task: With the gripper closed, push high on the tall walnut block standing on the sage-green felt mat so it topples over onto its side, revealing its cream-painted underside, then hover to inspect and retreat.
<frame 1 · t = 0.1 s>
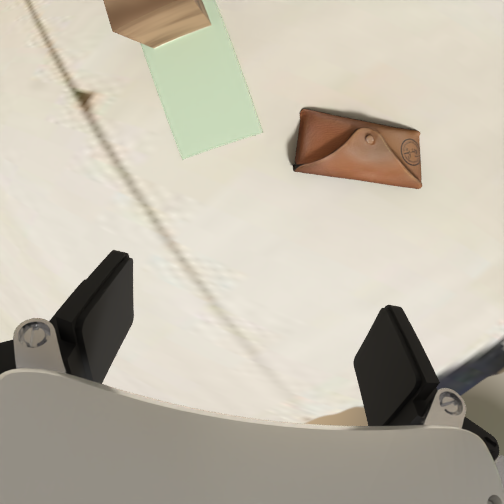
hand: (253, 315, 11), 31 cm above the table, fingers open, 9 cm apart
sunglasses case: (360, 147, 38), on the table
felt mat: (194, 69, 33), on the table
walnut block: (176, 21, 30), resting on felt mat
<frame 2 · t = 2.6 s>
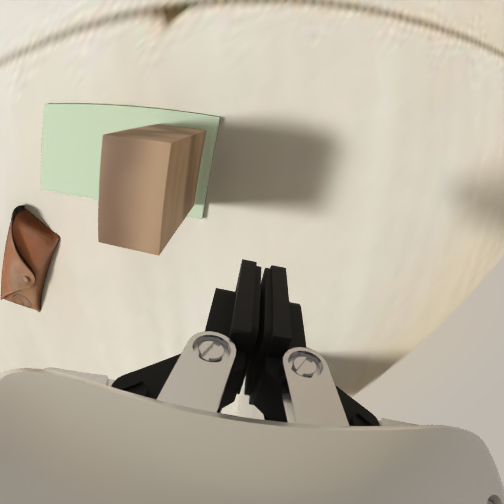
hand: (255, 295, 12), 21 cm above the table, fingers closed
sunglasses case: (31, 262, 38), on the table
felt mat: (115, 154, 30), on the table
walnut block: (177, 164, 30), resting on felt mat
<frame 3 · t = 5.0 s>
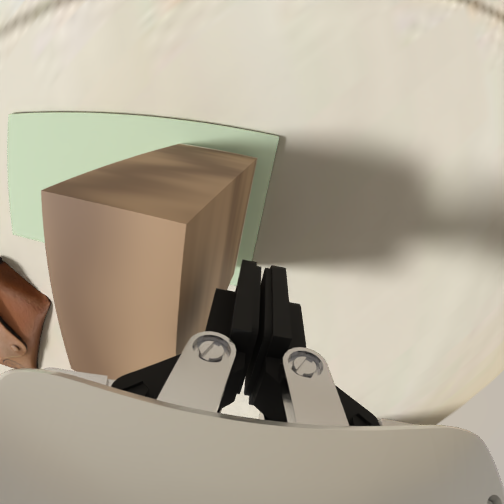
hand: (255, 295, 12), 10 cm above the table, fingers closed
sunglasses case: (20, 322, 28), on the table
felt mat: (110, 189, 20), on the table
walnut block: (208, 209, 20), point 1 cm above the table, tilted 7°, touching felt mat
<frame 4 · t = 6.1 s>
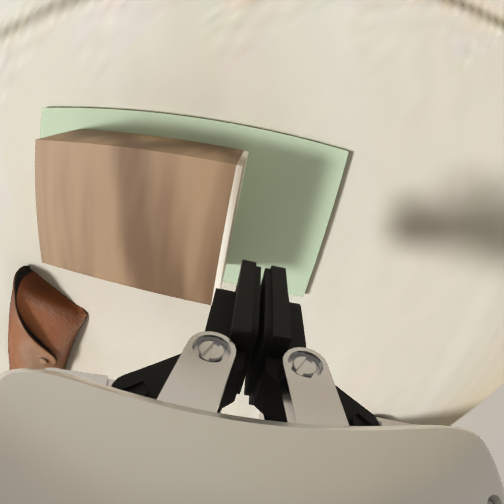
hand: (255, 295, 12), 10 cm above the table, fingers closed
sunglasses case: (46, 333, 28), on the table
felt mat: (165, 195, 20), on the table
walnut block: (232, 225, 18), point 3 cm above the table, tilted 90°, touching felt mat
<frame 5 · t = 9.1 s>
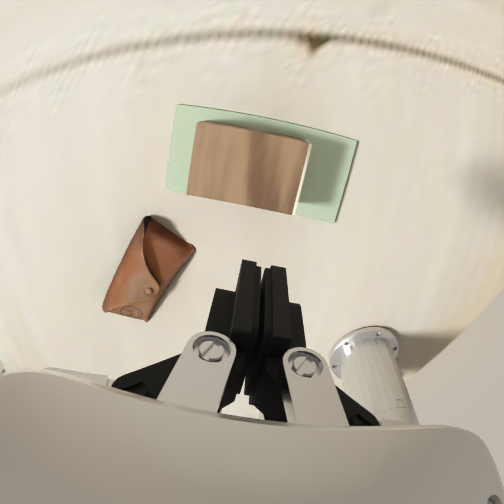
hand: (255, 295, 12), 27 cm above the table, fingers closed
sunglasses case: (147, 273, 45), on the table
felt mat: (258, 162, 36), on the table
walnut block: (301, 175, 34), point 3 cm above the table, tilted 90°, touching felt mat
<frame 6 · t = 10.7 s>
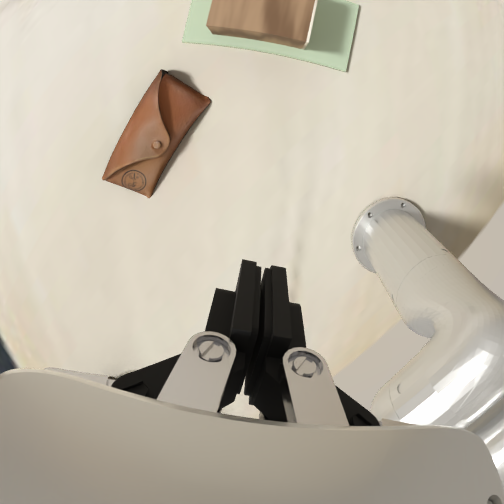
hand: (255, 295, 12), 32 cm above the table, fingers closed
sunglasses case: (156, 136, 40), on the table
felt mat: (271, 17, 31), on the table
walnut block: (311, 19, 29), point 3 cm above the table, tilted 90°, touching felt mat
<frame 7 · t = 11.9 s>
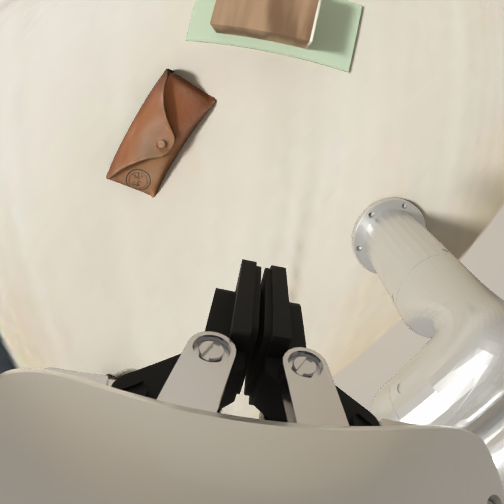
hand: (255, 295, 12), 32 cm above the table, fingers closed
sunglasses case: (161, 135, 40), on the table
felt mat: (275, 16, 31), on the table
walnut block: (315, 19, 29), point 3 cm above the table, tilted 90°, touching felt mat
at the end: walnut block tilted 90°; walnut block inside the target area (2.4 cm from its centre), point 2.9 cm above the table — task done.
